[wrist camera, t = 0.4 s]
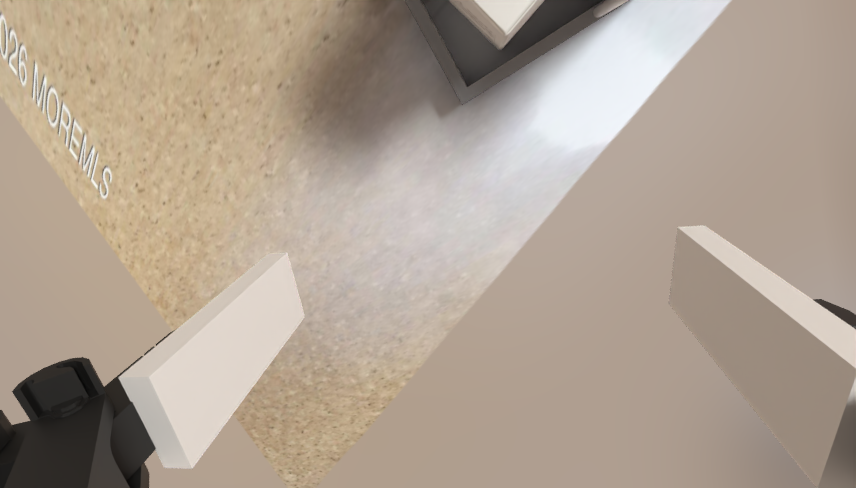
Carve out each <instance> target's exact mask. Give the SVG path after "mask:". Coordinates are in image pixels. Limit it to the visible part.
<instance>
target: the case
mask: <svg viewBox="0 0 856 488" xmlns="http://www.w3.org/2000/svg"><path fill="white" fill-rule="evenodd" d="M628 1H629V0H603V1H601V2H600V3H598V4H597V5H595V6H594V7H592V8H590V9H589V10H587V11H586V12H584V13H583V14H581V15H580V16H578V17H576V18H575V19H573V20H572V21H570V22H569V23H567V24H565V25H564V26H562V27H561V28H559V29H558V30H556V31H554V32H553V33H551V34H550V35H548V36H547V37H545V38H544V39H542V40H540V41H539V42H537V43H536V44H534V45H533V46H531V47H529V48H528V49H526V50H525V51H523V52H522V53H520V54H519V55H517V56H515V57H514V58H512V59H511V60H509V61H508V62H506V63H504V64H503V65H501V66H500V67H498V68H497V69H495V70H494V71H492V72H490V73H489V74H487V75H486V76H484V77H483V78H481V79H479V80H478V81H476V82H475V83H473V84H472V85H470V86H469V87H468V86H467V84H466V82H465V80H464V78H463V77H462V75H461V73H460V71H459V69H458V67H457V65H456V64H455V62H454V60H453V58H452V56H451V54H450V52H449V51H448V49H447V47H446V45H445V43H444V41H443V39H442V38H441V36H440V34H439V32H438V30H437V28H436V26H435V25H434V23H433V21H432V19H431V17H430V15H429V13H428V12H427V10H426V8H425V6H424V4H423V2H422V0H405V2H406V4H407V5H408V7H409V9H410V11H411V13H412V14H413V16H414V18H415V20H416V22H417V24H418V25H419V27H420V29H421V31H422V33H423V34H424V36H425V38H426V40H427V42H428V44H429V45H430V47H431V49H432V51H433V53H434V54H435V56H436V58H437V60H438V62H439V64H440V65H441V67H442V69H443V71H444V73H445V75H446V76H447V78H448V80H449V82H450V84H451V85H452V87H453V89H454V91H455V93H456V95H457V96H458V98H459V100H460V102H461V104H462V105H463V104H465V103H466V102H468V101H470V100H471V99H473V98H474V97H476V96H478V95H479V94H481V93H482V92H484V91H486V90H487V89H489V88H490V87H492V86H494V85H495V84H497V83H498V82H500V81H502V80H503V79H505V78H506V77H508V76H510V75H511V74H513V73H514V72H516V71H517V70H519V69H521V68H522V67H524V66H525V65H527V64H529V63H530V62H532V61H533V60H535V59H537V58H538V57H540V56H541V55H543V54H545V53H546V52H548V51H549V50H551V49H553V48H554V47H556V46H557V45H559V44H561V43H562V42H564V41H565V40H567V39H569V38H570V37H572V36H573V35H575V34H577V33H578V32H580V31H581V30H583V29H584V28H586V27H588V26H589V25H591V24H592V23H594V22H596V21H597V20H599V19H600V18H602V17H604V16H605V15H607V14H608V13H610V12H612V11H613V10H615V9H616V8H618V7H620V6H621V5H623V4H624V3H626V2H628Z"/></svg>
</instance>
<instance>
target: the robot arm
mask: <svg viewBox="0 0 856 488" xmlns="http://www.w3.org/2000/svg"><path fill="white" fill-rule="evenodd" d="M669 305H670V306H671V307H672V309H673V310H674V311H675V312H676V313H677V315H678V316H679V317H680V318H681V320H682V321H683V322H684V323H685V325H686V326H687V327H688V329H689V330H690V331H691V332H692V333H693V335H694V336H695V337H696V338H697V340H698V341H699V342H700V343H701V345H702V346H703V347H704V348H705V350H706V351H707V352H708V353H709V355H710V356H711V357H712V358H713V360H714V361H715V362H716V363H717V365H718V366H719V367H720V368H721V370H722V371H723V372H724V373H725V375H726V376H727V377H728V378H729V380H730V381H731V382H732V383H733V384H734V386H735V387H736V388H737V390H738V391H739V392H740V393H741V395H742V396H743V397H744V398H745V400H746V401H747V402H748V403H749V405H750V406H751V407H752V408H753V410H754V411H755V412H756V413H757V414H758V416H759V417H760V418H761V420H762V421H763V422H764V423H765V425H766V426H767V427H768V428H769V430H770V431H771V432H772V433H773V435H774V436H775V437H776V438H777V439H778V441H779V442H780V443H781V444H782V446H783V447H784V448H785V449H786V451H787V452H788V453H789V455H790V456H791V457H792V458H793V460H794V461H795V462H796V463H797V464H798V466H799V467H800V468H801V469H802V471H803V472H804V473H805V474H806V476H807V477H808V478H809V479H810V481H811V482H812V483H813V484H814V486H815V487H816V488H856V315H855V314H854V313H852V312H850V311H849V310H846V309H844V308H841V307H839V306H836V305H834V304H831V303H829V302H826V301H824V300H822V299H816V300H812V299H811V298H809V297H808V296H806V295H805V294H803V293H802V292H801V291H799V290H798V289H796V288H795V287H793V286H792V285H790V284H789V283H788V282H786V281H785V280H783V279H782V278H780V277H779V276H777V275H776V274H774V273H773V272H771V271H770V270H769V269H767V268H765V267H764V266H763V265H761V264H760V263H758V262H757V261H756V260H754V259H753V258H751V257H750V256H748V255H747V254H745V253H744V252H742V251H741V250H740V249H738V248H737V247H735V246H734V245H732V244H731V243H729V242H728V241H726V240H725V239H724V238H722V237H721V236H719V235H718V234H716V233H715V232H713V231H712V230H710V229H709V228H708V227H706V226H704V225H703V226H688V227H678V228H677V236H676V245H675V253H674V262H673V270H672V279H671V288H670V296H669ZM304 317H305V315H304V311H303V308H302V304H301V301H300V297H299V293H298V290H297V286H296V282H295V279H294V275H293V271H292V268H291V264H290V261H289V257H288V253H287V252H284V253H269V254H267V255H266V256H264V257H263V258H262V259H261V260H260V261H258V262H257V263H256V264H255V265H254V266H252V267H251V268H250V269H249V270H247V271H246V272H245V273H244V274H243V275H241V276H240V277H239V278H238V279H237V280H235V281H234V282H233V283H232V284H231V285H229V286H228V287H227V288H226V289H225V290H223V291H222V292H221V293H220V294H218V295H217V296H216V297H215V298H214V299H212V300H211V301H210V302H209V303H208V304H206V305H205V306H204V307H203V308H202V309H200V310H199V311H198V312H197V313H196V314H194V315H193V316H192V317H191V318H189V319H188V320H187V321H186V322H185V323H183V324H182V325H181V326H180V327H179V328H177V329H176V330H174V331H172V332H171V333H169V334H168V335H167V336H166V337H164V338H163V339H162V340H161V341H159V342H158V343H157V344H156V347H152V348H151V349H150V350H149V351H147V352H146V353H145V354H144V356H141V357H140V358H139V359H138V360H136V361H135V362H134V363H133V364H131V365H130V366H129V367H128V368H127V369H125V370H124V371H123V372H122V373H121V374H119V375H118V376H117V377H116V378H114V379H113V380H112V381H111V382H110V383H108V384H107V385H106V386H105V387H104V386H103V385H102V383H101V381H100V379H99V377H98V375H97V373H96V371H95V369H94V368H93V366H92V364H91V362H90V360H89V359H86V358H83V357H82V358H72V359H68V360H65V361H61V362H58V363H56V364H53V365H51V366H48V367H46V368H43V369H41V370H40V371H38V372H36V373H34V374H33V375H31V376H29V377H28V378H26V379H25V380H24V381H22V382H21V383H19V384H18V385H17V387H16V388H15V389H14V390H13V391H12V392H13V394H14V395H15V397H16V398H17V400H18V401H19V403H20V404H21V406H22V408H23V409H24V410H25V412H26V414H27V415H28V417H29V419H30V420H31V421H28V422H23V423H19V424H15V425H11V423H10V422H9V420H8V419H7V417H6V416H5V415H4V413H3V411H2V410H0V488H149V472H148V469H147V468H146V465H145V463H144V462H145V461H146V459H147V458H148V457H149V456H150V455H151V454H152V453H153V451H154V450H155V451H156V452H157V454H158V456H159V458H160V460H161V462H162V464H163V466H164V468H186V469H192V468H193V467H194V466H195V464H196V463H197V462H198V460H199V459H200V458H201V456H202V454H204V452H205V451H206V450H207V448H208V447H209V445H210V444H211V443H212V441H213V440H214V439H215V437H216V436H217V435H218V433H219V432H220V430H221V429H222V428H223V427H224V425H225V424H226V422H227V421H228V420H229V418H230V417H231V415H232V414H233V413H234V412H235V410H236V409H237V408H238V406H239V405H240V404H241V402H242V401H243V400H244V398H245V397H246V396H247V394H248V393H249V392H250V390H251V389H252V387H253V386H254V385H255V383H256V382H257V381H258V379H259V378H260V377H261V375H262V374H263V373H264V371H265V370H266V369H267V367H268V366H269V365H270V363H271V362H272V360H273V359H274V358H275V356H276V355H277V354H278V352H279V351H280V350H281V348H282V347H283V346H284V344H285V343H286V342H287V340H288V339H289V338H290V336H291V335H292V333H293V332H294V331H295V329H296V328H297V327H298V325H299V324H300V323H301V321H302V320H303V319H304Z"/></svg>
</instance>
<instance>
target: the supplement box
mask: <svg viewBox="0 0 856 488" xmlns="http://www.w3.org/2000/svg"><path fill="white" fill-rule="evenodd" d="M448 1H449V2H450V3H451V4H452V5H453V6H454V7H455V8H456V9H457V10H459V11H460V12H461V13H462V14H463V15H464V16H465V17H466V18H467V19H468V20H469V21H470V22H471V23H472V24H473V25H474V26H475V27H476V28H477V29H478V30H479V31H480V32H481V33H482V34H483V35H484V36H485V37H486V38H487V39H488V40H489V41H490V42H491V43H492V44H493V45H494V46H495V47H496V48H497V49H498V50H501V49H503V48H504V47H505V46H506V44H507V43H508V42H509V41H510V40H511V39H512V38H513V36H514V35H515V34H516V33H517V32H518V31H519V30H520V28H521V27H522V26H523V25H524V24H525V23H526V22H527V20H528V19H529V18H530V17H531V16H532V15H533V13H534V12H535V11H536V10H537V9H538V8H539V6H540V5H541V4H542V3H543V2H544V1H545V0H448Z"/></svg>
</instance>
